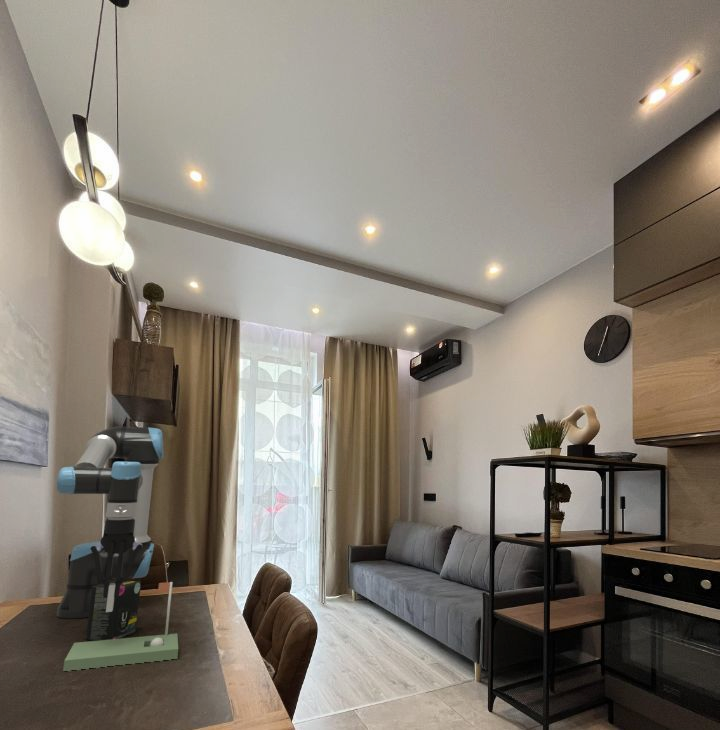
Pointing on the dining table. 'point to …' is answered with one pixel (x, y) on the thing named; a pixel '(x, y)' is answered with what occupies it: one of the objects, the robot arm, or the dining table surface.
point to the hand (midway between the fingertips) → (109, 610)
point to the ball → (157, 642)
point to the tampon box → (113, 612)
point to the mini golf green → (123, 648)
